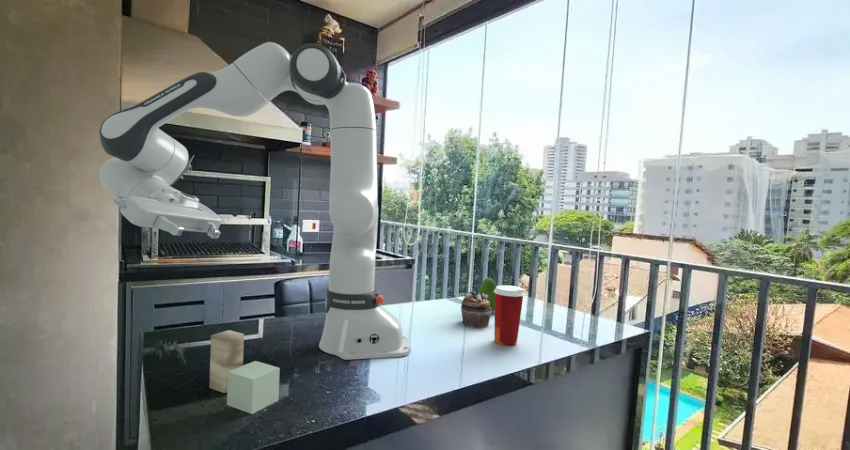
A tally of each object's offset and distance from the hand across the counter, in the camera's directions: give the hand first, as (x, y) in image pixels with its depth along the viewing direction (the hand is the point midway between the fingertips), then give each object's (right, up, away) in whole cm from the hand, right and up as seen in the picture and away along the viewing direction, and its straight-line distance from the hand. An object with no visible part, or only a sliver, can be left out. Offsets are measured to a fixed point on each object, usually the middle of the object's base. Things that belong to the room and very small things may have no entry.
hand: (199, 234), depth 90 cm
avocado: (+68, -28, +61) cm, 95 cm away
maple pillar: (+9, -29, -7) cm, 31 cm away
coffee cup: (+68, -30, +29) cm, 80 cm away
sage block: (+16, -30, -13) cm, 36 cm away
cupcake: (+62, -29, +46) cm, 82 cm away
